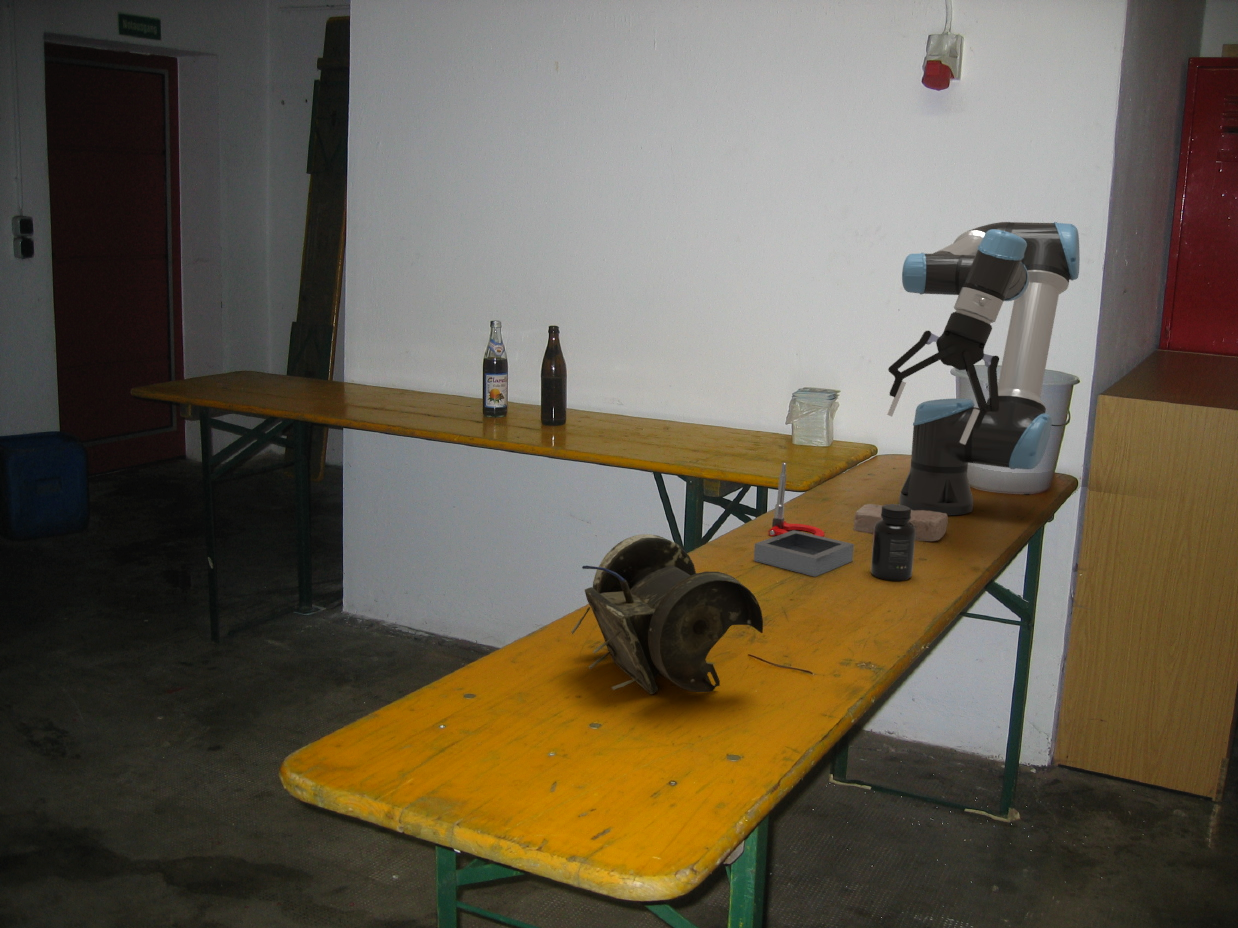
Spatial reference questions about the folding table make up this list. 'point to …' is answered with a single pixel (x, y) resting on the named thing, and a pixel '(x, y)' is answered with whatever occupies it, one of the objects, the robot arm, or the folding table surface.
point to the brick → (925, 522)
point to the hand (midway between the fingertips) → (925, 429)
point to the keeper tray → (803, 553)
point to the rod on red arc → (778, 521)
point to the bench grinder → (664, 612)
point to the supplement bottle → (893, 544)
